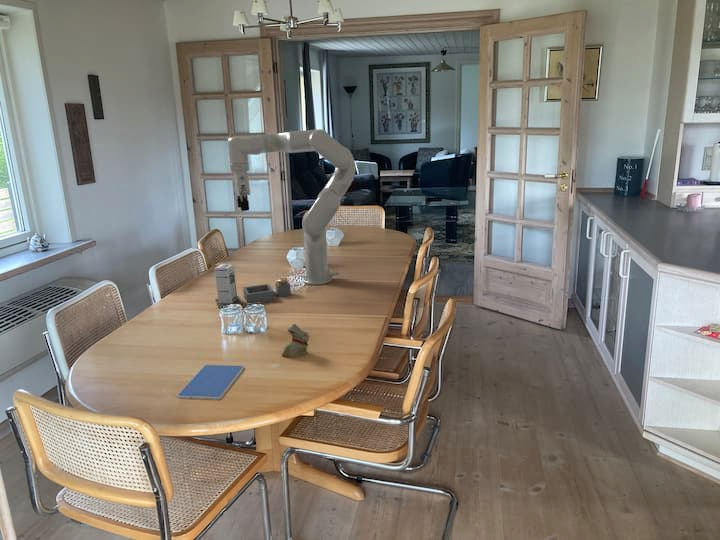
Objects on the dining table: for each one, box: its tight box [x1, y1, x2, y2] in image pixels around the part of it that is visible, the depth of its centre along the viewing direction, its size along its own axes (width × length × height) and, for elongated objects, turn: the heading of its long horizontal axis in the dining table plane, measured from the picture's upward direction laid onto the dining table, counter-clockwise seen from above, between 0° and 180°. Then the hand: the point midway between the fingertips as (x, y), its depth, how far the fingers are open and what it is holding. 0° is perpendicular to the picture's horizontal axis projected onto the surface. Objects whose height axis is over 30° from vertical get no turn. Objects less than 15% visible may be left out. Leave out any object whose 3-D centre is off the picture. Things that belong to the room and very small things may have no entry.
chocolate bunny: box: [281, 323, 310, 358], centre depth 174 cm, size 6×8×10 cm
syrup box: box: [214, 263, 238, 303], centre depth 224 cm, size 6×6×14 cm
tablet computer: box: [176, 364, 245, 401], centre depth 158 cm, size 19×13×1 cm, turn 172°
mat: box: [215, 295, 243, 309], centre depth 225 cm, size 9×11×1 cm
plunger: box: [276, 277, 288, 285], centre depth 231 cm, size 4×4×6 cm
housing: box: [242, 280, 292, 304], centre depth 230 cm, size 18×11×5 cm, turn 109°
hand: (243, 208), depth 239 cm, fingers open, 9 cm apart
